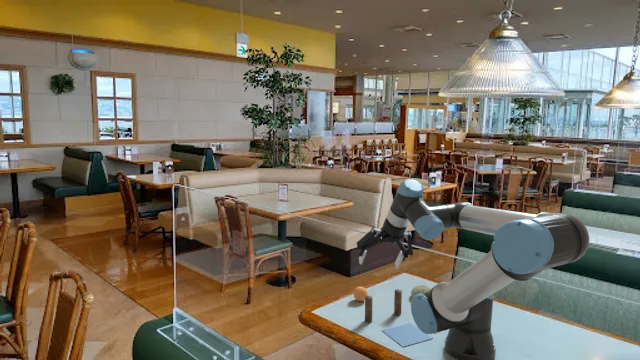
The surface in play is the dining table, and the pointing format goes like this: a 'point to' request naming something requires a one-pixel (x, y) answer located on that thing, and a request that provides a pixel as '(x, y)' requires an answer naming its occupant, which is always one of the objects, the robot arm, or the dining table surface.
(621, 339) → the dining table surface
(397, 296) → the post right
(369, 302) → the post left
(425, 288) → the sea urchin shell
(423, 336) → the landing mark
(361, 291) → the ball
